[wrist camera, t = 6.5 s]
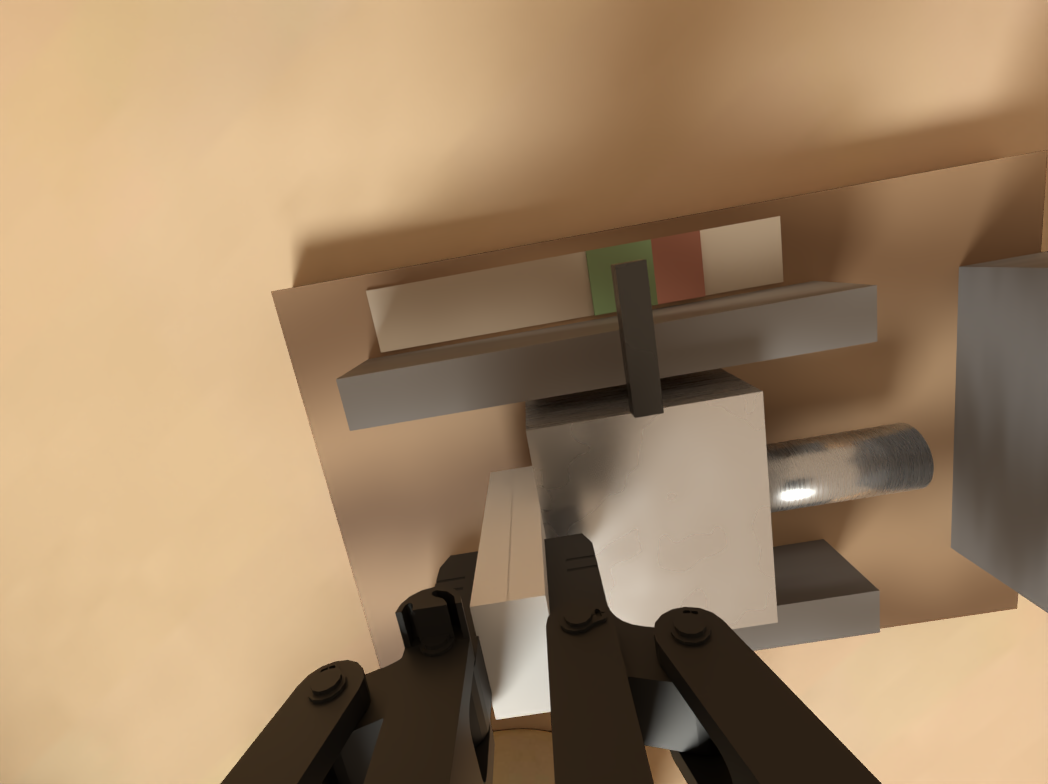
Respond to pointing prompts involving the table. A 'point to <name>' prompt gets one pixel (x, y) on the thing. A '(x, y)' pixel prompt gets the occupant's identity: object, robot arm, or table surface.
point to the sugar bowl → (523, 757)
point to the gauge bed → (738, 348)
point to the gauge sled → (692, 477)
